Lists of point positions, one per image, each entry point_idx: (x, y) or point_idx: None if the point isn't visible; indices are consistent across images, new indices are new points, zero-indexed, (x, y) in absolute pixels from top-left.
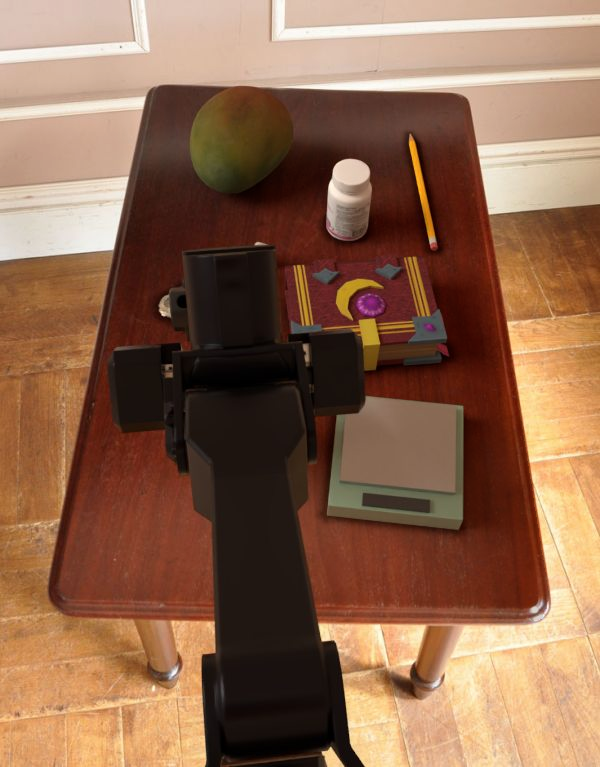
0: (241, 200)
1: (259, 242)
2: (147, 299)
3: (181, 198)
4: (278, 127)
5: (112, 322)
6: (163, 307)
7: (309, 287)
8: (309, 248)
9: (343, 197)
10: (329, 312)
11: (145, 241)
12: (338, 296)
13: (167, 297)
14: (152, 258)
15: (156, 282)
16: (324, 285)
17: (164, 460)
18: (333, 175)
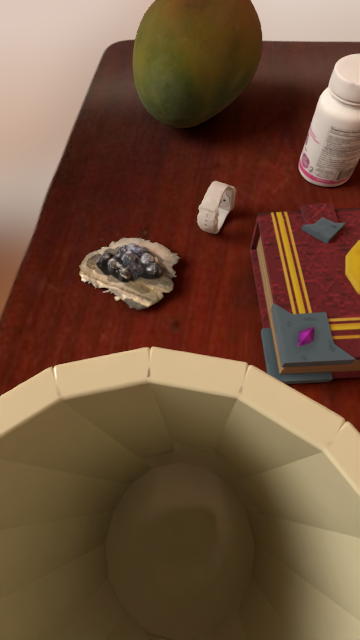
0: (193, 140)
1: (217, 181)
2: (67, 257)
3: (124, 137)
4: (247, 27)
5: (16, 288)
6: (85, 269)
7: (298, 247)
8: (278, 195)
9: (345, 112)
10: (336, 290)
11: (76, 184)
12: (349, 263)
13: (92, 255)
14: (81, 204)
15: (82, 235)
16: (322, 244)
17: None
18: (336, 75)
